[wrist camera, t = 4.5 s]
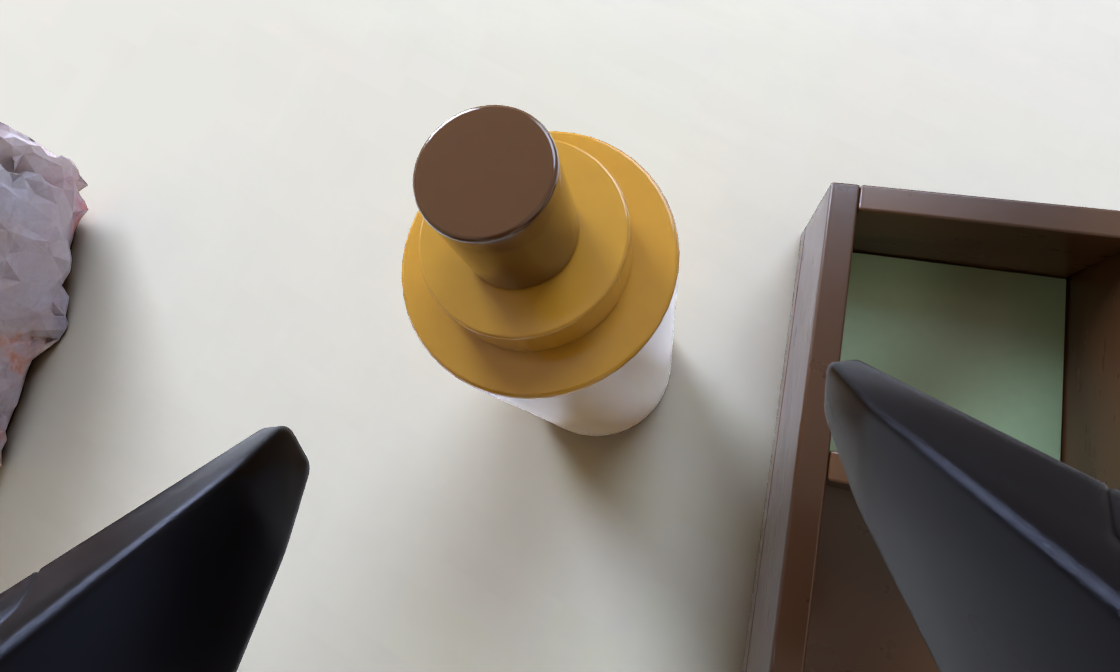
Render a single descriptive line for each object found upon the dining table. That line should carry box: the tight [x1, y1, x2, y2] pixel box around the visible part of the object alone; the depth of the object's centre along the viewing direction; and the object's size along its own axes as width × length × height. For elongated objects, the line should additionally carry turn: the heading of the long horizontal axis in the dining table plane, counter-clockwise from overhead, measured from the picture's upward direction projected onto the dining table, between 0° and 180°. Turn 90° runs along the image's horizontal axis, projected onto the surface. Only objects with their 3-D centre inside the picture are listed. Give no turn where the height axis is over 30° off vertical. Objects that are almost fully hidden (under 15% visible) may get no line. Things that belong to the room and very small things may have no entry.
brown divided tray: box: [742, 183, 1120, 672], centre depth 15 cm, size 8×16×4 cm, turn 168°
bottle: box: [402, 105, 679, 436], centre depth 13 cm, size 5×5×13 cm
